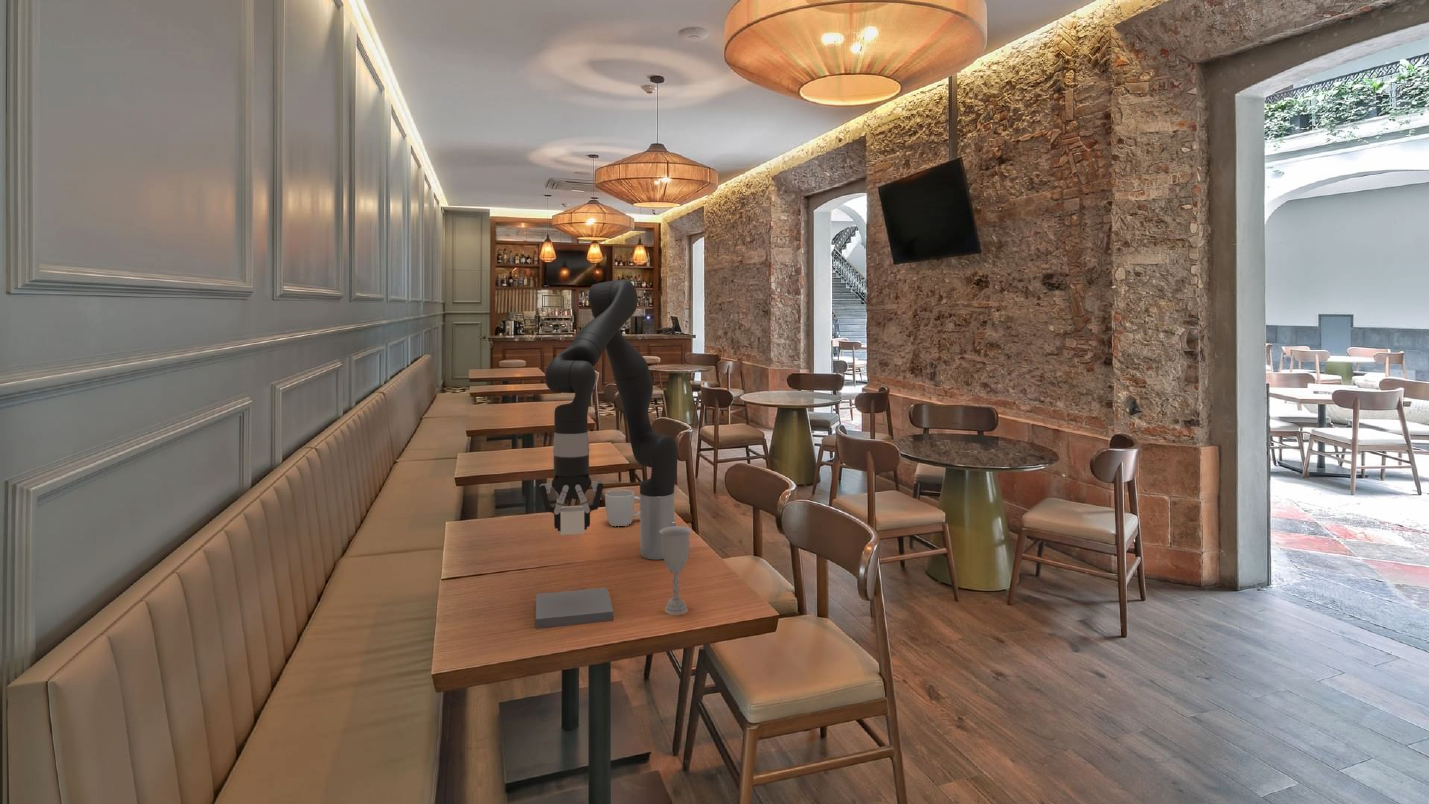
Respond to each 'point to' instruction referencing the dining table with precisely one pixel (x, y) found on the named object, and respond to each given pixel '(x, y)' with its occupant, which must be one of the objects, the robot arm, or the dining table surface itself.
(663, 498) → the robot arm
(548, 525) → the dining table surface
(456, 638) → the dining table surface
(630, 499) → the mug
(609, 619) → the slate board
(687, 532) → the chalice
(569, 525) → the cube
